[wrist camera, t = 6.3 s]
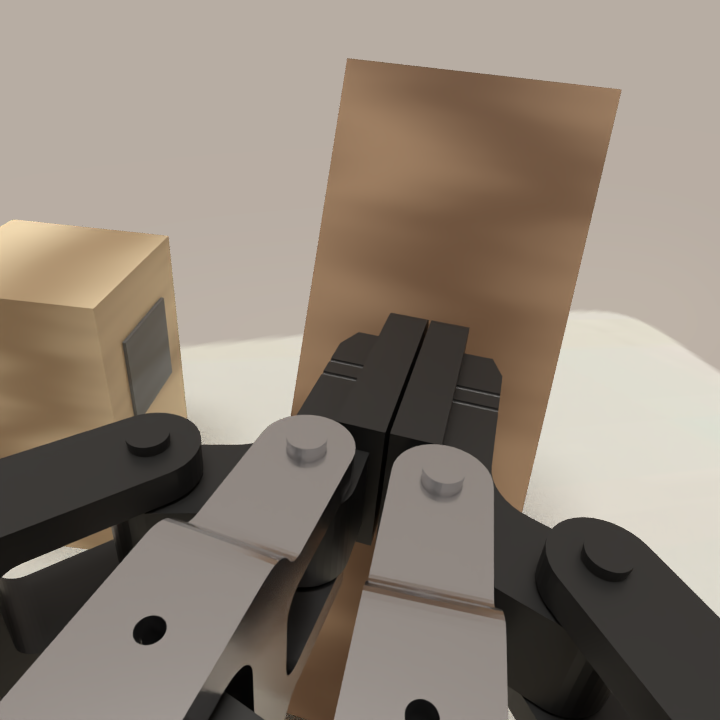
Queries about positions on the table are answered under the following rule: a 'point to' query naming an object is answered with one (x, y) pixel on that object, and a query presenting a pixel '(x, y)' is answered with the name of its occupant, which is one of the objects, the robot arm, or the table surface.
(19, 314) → the maple block
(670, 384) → the table surface
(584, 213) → the walnut block
